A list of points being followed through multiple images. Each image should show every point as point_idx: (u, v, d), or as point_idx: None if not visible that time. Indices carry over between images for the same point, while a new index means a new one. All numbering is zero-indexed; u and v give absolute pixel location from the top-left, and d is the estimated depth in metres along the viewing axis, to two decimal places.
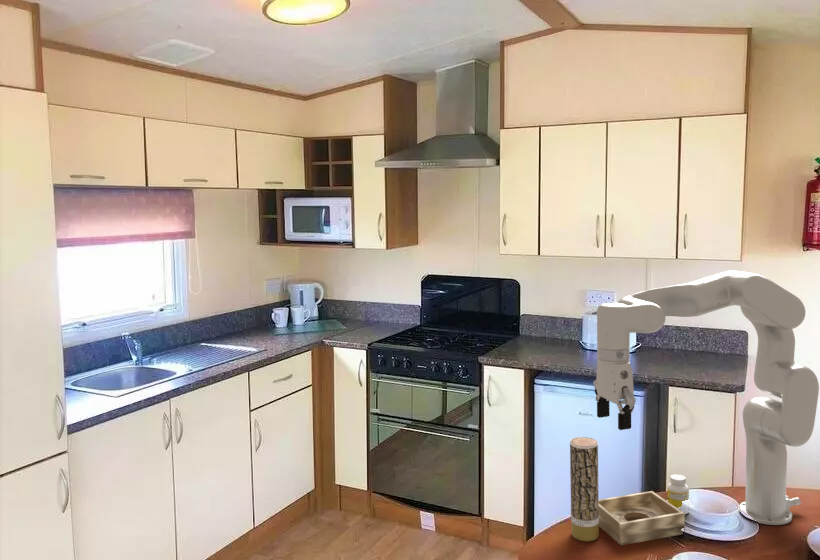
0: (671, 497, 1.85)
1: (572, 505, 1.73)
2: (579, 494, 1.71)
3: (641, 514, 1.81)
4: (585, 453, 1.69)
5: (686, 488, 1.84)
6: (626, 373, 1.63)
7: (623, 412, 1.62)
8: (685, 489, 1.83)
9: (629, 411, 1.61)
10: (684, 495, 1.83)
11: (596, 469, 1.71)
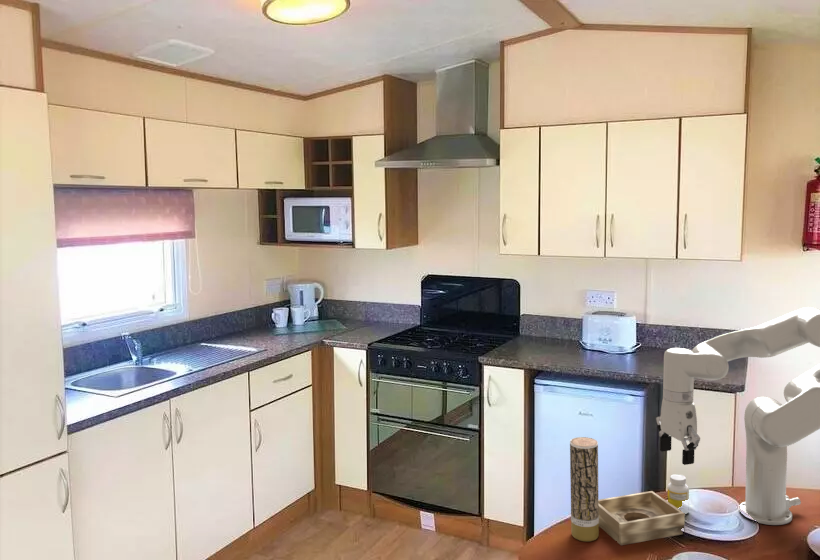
0: (671, 497, 1.85)
1: (572, 505, 1.73)
2: (579, 494, 1.71)
3: (641, 514, 1.81)
4: (585, 453, 1.69)
5: (686, 488, 1.84)
6: (690, 413, 1.79)
7: (688, 449, 1.78)
8: (685, 489, 1.83)
9: (693, 448, 1.78)
10: (684, 495, 1.83)
11: (596, 469, 1.71)
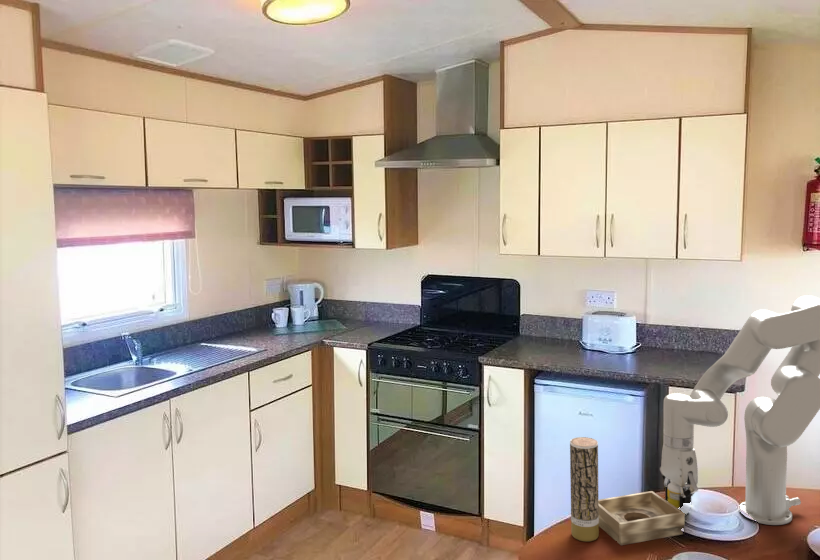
0: (671, 497, 1.85)
1: (572, 505, 1.73)
2: (579, 494, 1.71)
3: (641, 514, 1.81)
4: (585, 453, 1.69)
5: (686, 488, 1.84)
6: (691, 459, 1.81)
7: (684, 496, 1.81)
8: (685, 489, 1.83)
9: (690, 495, 1.81)
10: None
11: (596, 469, 1.71)
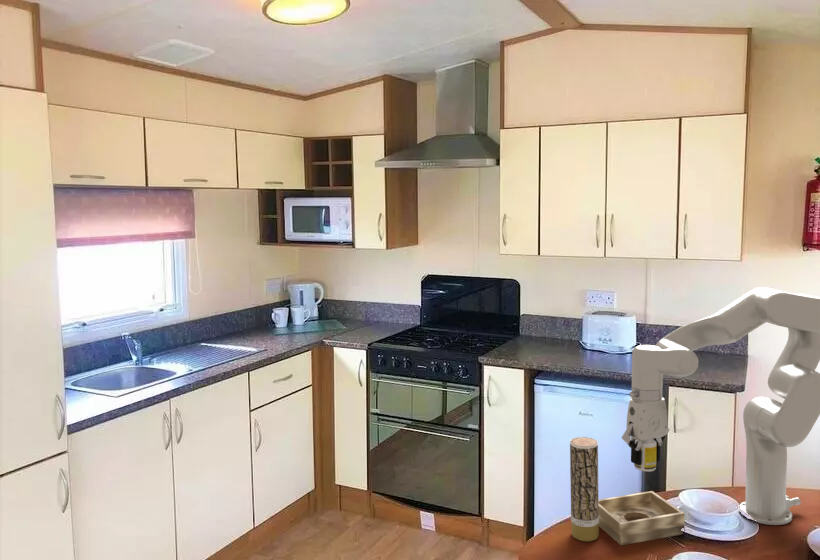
0: None
1: (572, 505, 1.73)
2: (579, 494, 1.71)
3: (641, 514, 1.81)
4: (585, 453, 1.69)
5: (642, 443, 1.76)
6: None
7: (629, 446, 1.77)
8: None
9: (631, 447, 1.76)
10: None
11: (596, 469, 1.71)
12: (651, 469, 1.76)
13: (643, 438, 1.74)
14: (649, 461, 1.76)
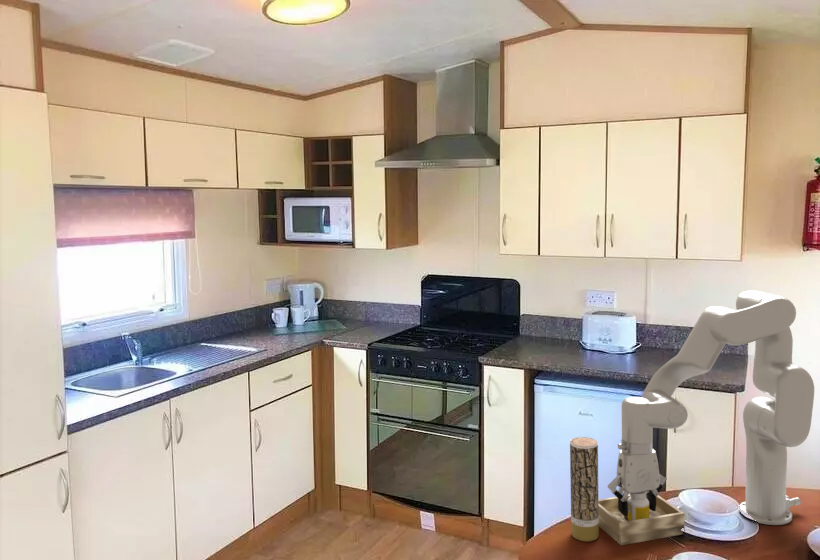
0: None
1: (572, 505, 1.73)
2: (579, 494, 1.71)
3: None
4: (585, 453, 1.69)
5: (633, 502, 1.76)
6: None
7: None
8: (630, 502, 1.77)
9: (617, 497, 1.76)
10: (629, 507, 1.78)
11: (596, 469, 1.71)
12: None
13: (631, 491, 1.74)
14: None
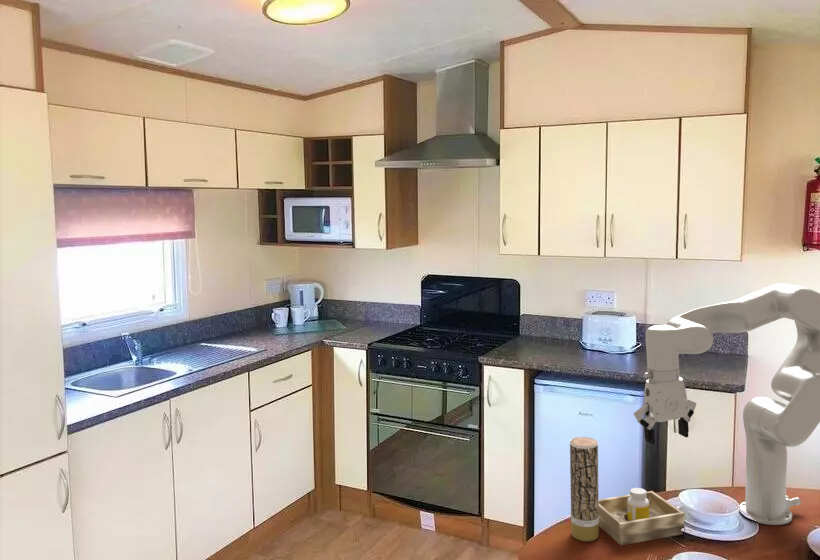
0: None
1: (572, 505, 1.73)
2: (579, 494, 1.71)
3: None
4: (585, 453, 1.69)
5: (633, 502, 1.76)
6: None
7: (642, 425, 1.75)
8: (630, 502, 1.77)
9: (643, 425, 1.74)
10: (629, 507, 1.78)
11: (596, 469, 1.71)
12: None
13: (660, 419, 1.72)
14: None
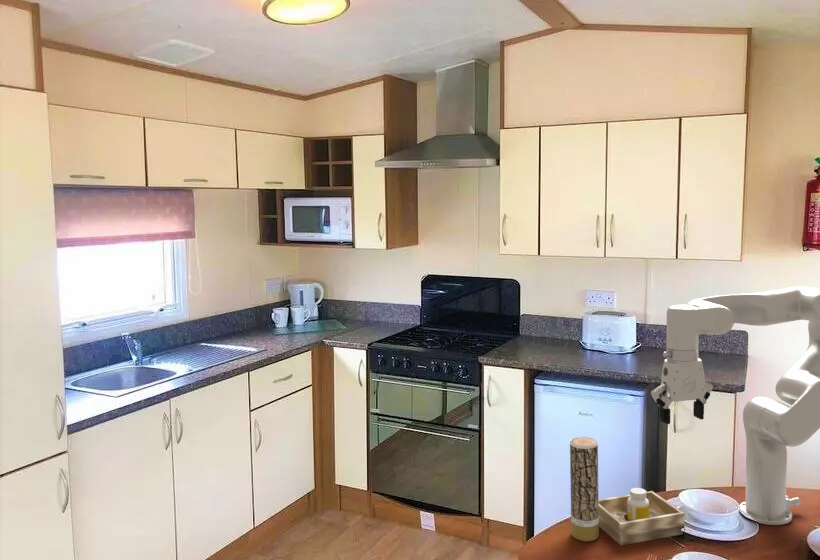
0: None
1: (572, 505, 1.73)
2: (579, 494, 1.71)
3: None
4: (585, 453, 1.69)
5: (633, 502, 1.76)
6: None
7: None
8: (630, 502, 1.77)
9: (659, 405, 1.73)
10: (629, 507, 1.78)
11: (596, 469, 1.71)
12: None
13: (677, 399, 1.71)
14: None
